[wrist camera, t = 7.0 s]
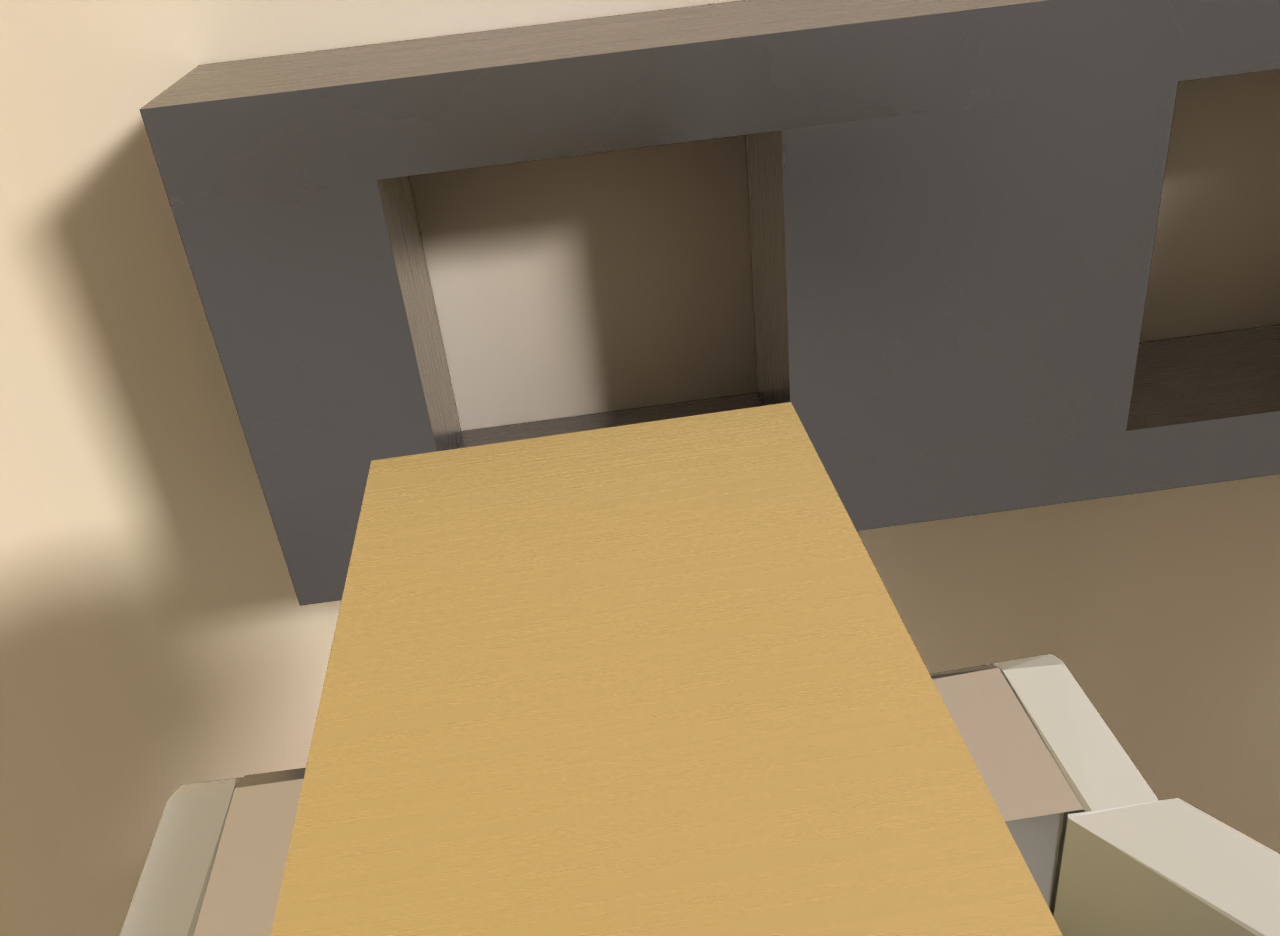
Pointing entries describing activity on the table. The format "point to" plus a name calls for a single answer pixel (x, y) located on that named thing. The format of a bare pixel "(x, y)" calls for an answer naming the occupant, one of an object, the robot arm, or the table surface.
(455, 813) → the block
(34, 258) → the table surface
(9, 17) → the table surface
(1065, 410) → the rail
